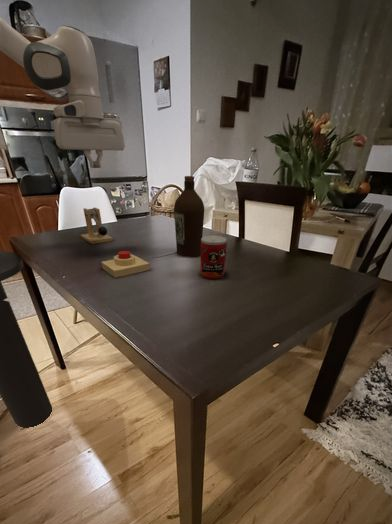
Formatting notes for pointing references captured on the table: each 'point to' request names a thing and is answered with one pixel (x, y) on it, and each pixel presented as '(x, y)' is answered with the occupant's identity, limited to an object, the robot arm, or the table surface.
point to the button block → (125, 266)
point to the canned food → (213, 256)
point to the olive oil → (189, 220)
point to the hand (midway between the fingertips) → (95, 167)
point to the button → (124, 254)
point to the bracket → (92, 236)
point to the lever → (98, 223)
